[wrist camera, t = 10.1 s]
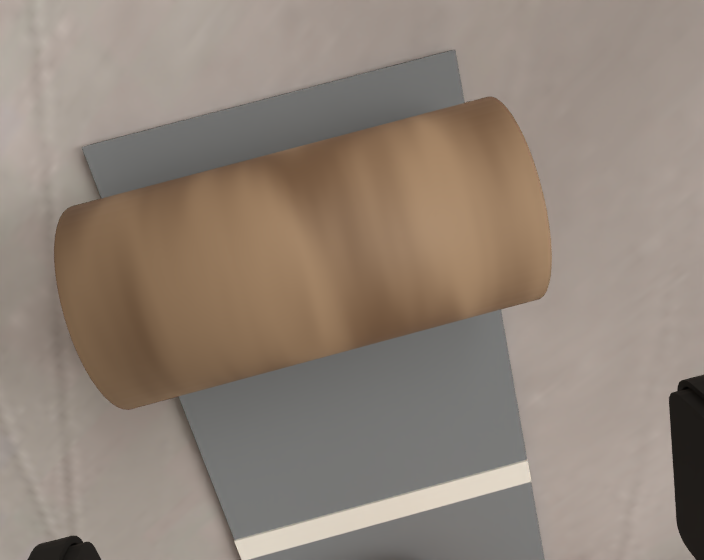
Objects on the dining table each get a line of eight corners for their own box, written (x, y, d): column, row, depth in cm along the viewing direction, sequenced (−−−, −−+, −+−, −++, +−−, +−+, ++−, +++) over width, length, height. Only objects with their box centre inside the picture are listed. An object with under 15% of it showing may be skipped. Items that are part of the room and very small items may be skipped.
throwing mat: (452, 50, 24) (455, 49, 23) (552, 618, 34) (556, 626, 33) (85, 146, 23) (80, 147, 23) (295, 690, 33) (295, 699, 33)
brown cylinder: (462, 91, 24) (532, 104, 17) (492, 263, 26) (564, 332, 20) (97, 187, 24) (26, 237, 17) (161, 352, 26) (121, 452, 19)
